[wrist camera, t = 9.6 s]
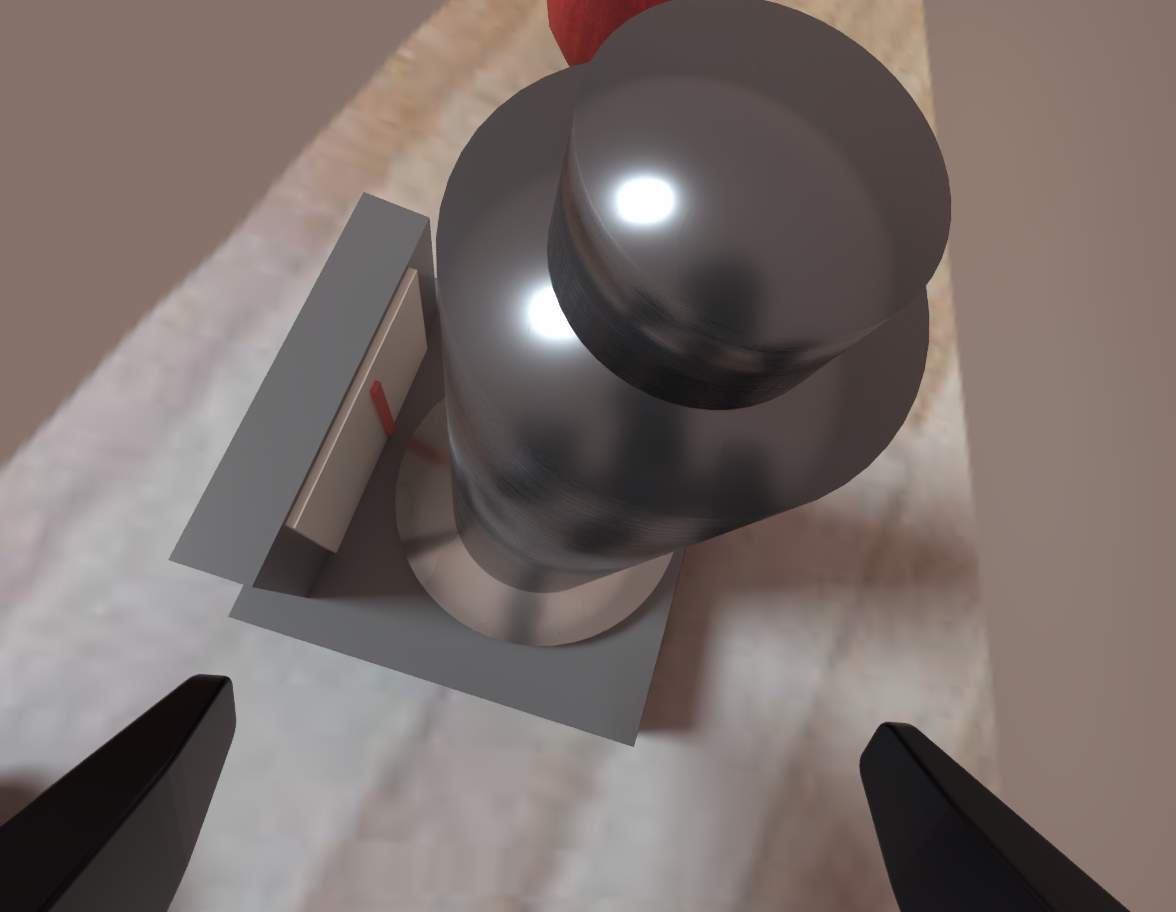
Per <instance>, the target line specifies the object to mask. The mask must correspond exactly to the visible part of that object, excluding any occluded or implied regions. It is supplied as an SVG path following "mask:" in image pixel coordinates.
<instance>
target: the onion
mask: <svg viewBox="0 0 1176 912" xmlns="http://www.w3.org/2000/svg"><path fill="white" fill-rule="evenodd" d="M667 1H672V0H547V7H548V17H549V27H550V29H551V31H552V33H553V35H554V37H555V39H556V42H557V44H558V46H559V48H560V50H561V52H562V53H563V55H564V57H565V59H566V61H567V63H568V65H569V66H570V67H572V66H576V65H580V64H584V63H588V62H590V61H591V60H592V58H593V57H594V55H595V53H596V52H597V50H598V49H599V47H600V46H601V45H602V44H603V43H604V42H605V40H606V39H607V38H608V37H609V36H610V35H611V34H612V33H613V32H614V31H615V30H616V29H617V28H619V27H620V26H621V25H623V24H624V23H625V22H626V21H628V20H629V19H630V18H632V17H634V16H636V15H638V14H639V13H641V12H643V11H645V10H647V9H649V8H651V7H654V6H657V5H659V4H662V3H665V2H667Z"/></svg>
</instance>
